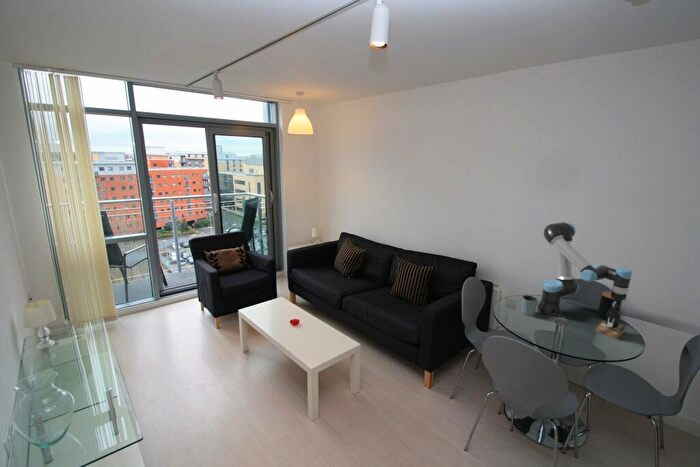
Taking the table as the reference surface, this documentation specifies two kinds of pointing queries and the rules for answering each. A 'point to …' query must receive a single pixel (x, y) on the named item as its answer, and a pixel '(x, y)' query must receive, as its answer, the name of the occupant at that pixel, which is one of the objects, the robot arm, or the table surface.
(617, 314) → the supplement bottle
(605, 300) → the coffee jar
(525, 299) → the grey green cup
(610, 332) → the dock
